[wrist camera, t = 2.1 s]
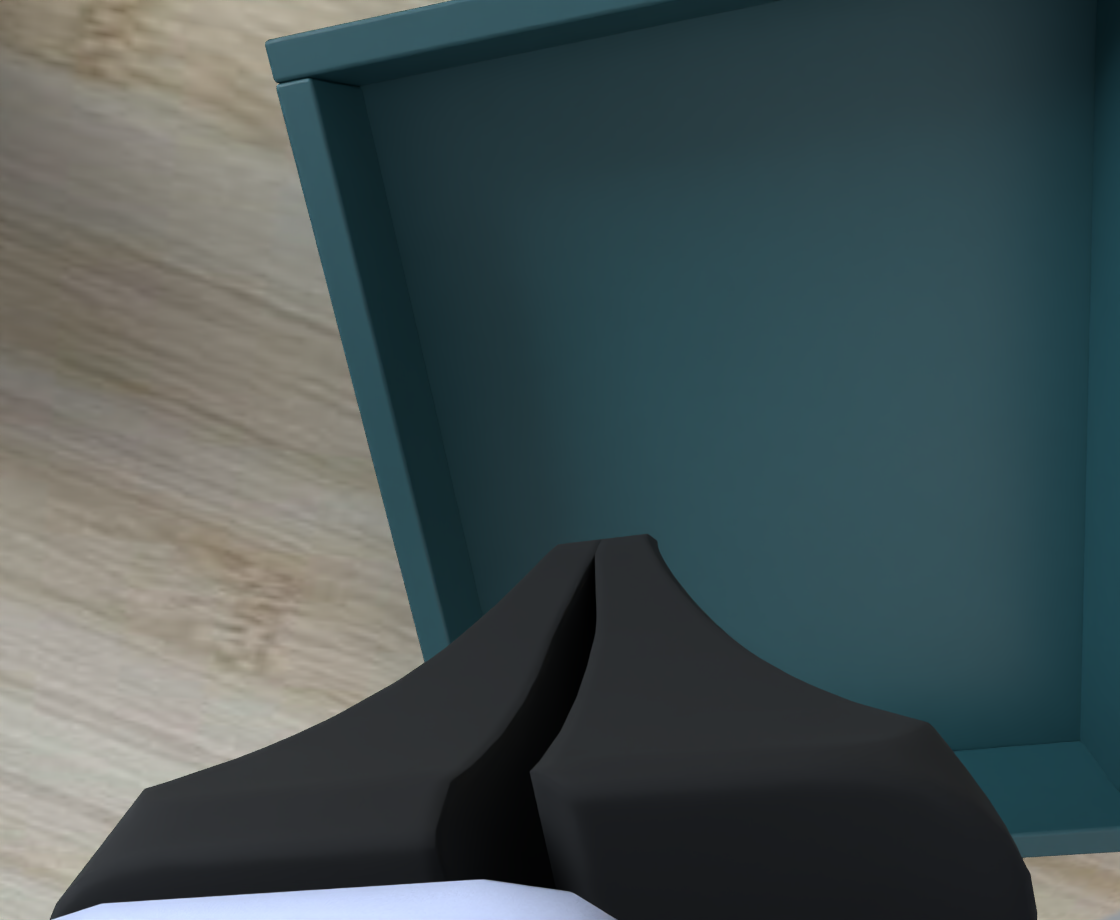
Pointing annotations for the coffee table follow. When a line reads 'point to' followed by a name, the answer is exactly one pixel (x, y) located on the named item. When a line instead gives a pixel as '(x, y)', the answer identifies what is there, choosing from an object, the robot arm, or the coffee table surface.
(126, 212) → the coffee table surface
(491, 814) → the robot arm
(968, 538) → the tray
